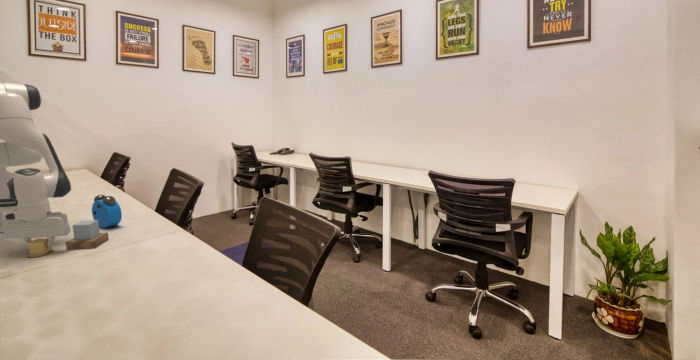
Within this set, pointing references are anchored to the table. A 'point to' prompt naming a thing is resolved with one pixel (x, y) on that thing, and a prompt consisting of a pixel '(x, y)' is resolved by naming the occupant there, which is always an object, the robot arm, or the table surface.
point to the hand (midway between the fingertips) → (41, 247)
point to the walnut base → (87, 242)
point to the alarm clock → (106, 211)
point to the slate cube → (86, 230)
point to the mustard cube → (39, 246)
